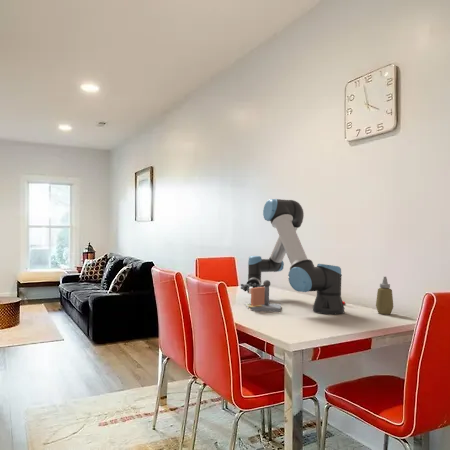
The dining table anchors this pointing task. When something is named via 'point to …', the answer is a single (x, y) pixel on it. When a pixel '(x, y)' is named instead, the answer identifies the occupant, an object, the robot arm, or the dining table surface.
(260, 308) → the grey flat block
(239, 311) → the dining table surface
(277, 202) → the robot arm
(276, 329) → the dining table surface
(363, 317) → the dining table surface
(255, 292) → the lever
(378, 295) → the squeeze bottle
